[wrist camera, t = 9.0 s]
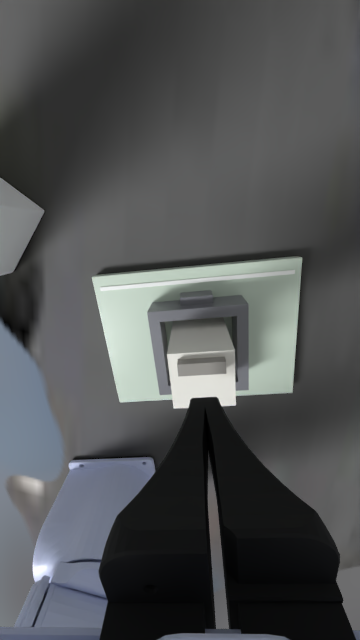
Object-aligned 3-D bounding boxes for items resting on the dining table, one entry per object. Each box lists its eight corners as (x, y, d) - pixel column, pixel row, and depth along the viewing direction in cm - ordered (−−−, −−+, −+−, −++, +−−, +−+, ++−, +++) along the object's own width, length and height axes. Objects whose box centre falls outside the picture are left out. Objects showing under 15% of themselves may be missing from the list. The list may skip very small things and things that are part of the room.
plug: (177, 361, 22) (173, 415, 16) (173, 319, 20) (166, 359, 14) (223, 358, 21) (237, 412, 15) (222, 315, 20) (236, 354, 14)
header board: (122, 395, 24) (112, 421, 21) (96, 274, 20) (78, 284, 17) (288, 386, 23) (304, 412, 20) (296, 256, 19) (318, 262, 16)
